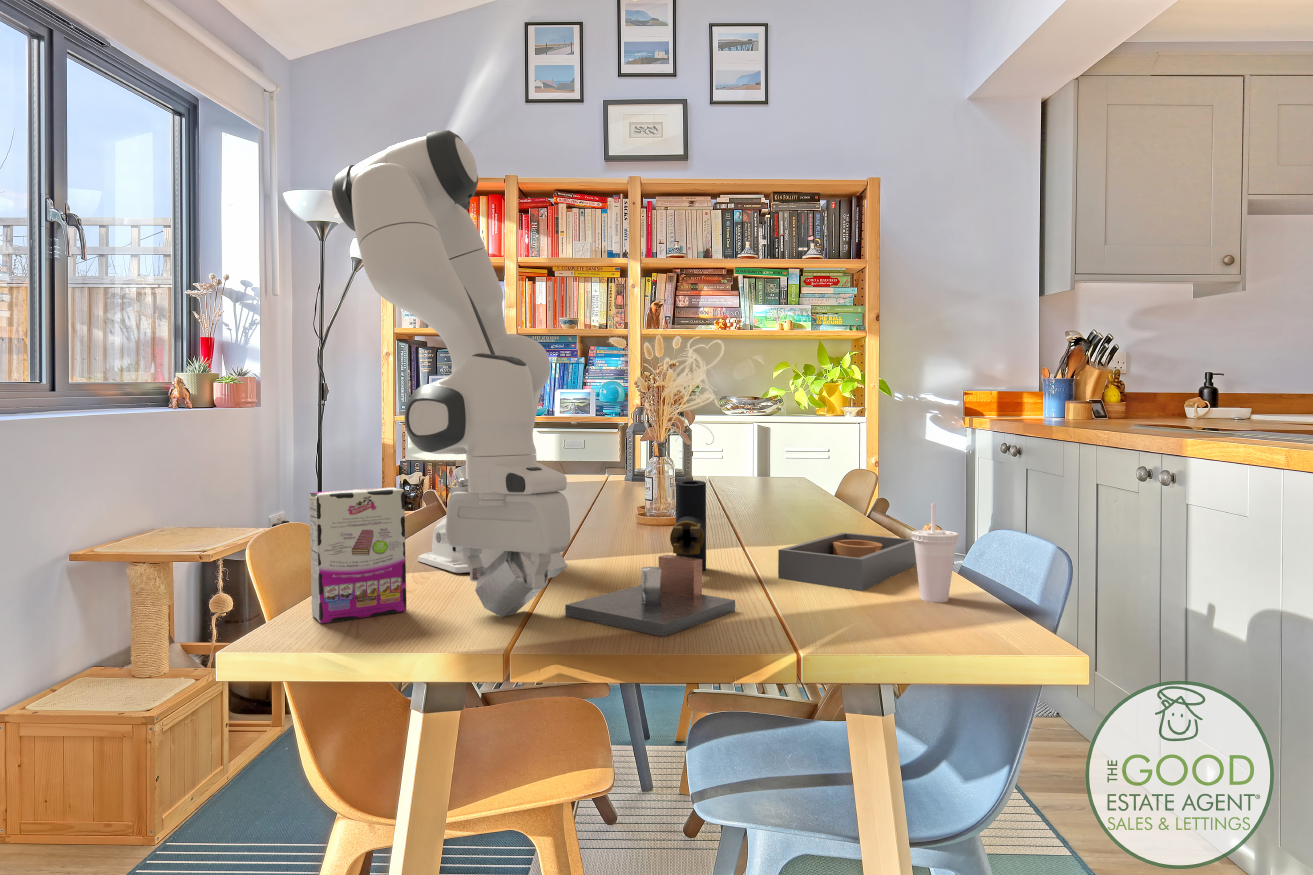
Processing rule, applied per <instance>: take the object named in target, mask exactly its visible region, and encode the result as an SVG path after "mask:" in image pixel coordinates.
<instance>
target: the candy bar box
mask: <svg viewBox="0 0 1313 875" xmlns="http://www.w3.org/2000/svg"><path fill="white" fill-rule="evenodd" d="M308 496H309V497H308V498H309V501H308V502H309V503H308V504H309V532H310V533H309V535H310V538H309V539H310V541H309V542H310V545H309V546H310V576H311V577H310V579H311V582H310V583H311V585H310V586H311V590H310V591H311V615H312V617H313V619H315V620H316V621H317V622H318V623H319V624H329V623H336V622H343V621H351V620H358V619H363V618H370V617H376V616H377V617H378V616H383V615H390V614H398V613H402V612H406V611H407V570H406V568H407V565H406V561H407V560H406V557H407V556H406V518H405V517H406V516H405V513H406V512H405V489H402V488H398V487H396V486H393V487H378V488H361V489H359V488H358V489H344V490H343V489H342V490H331V491H328V490H327V491H317V492H309V495H308Z"/></svg>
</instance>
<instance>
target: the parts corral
mask: <svg viewBox="0 0 1313 875" xmlns="http://www.w3.org/2000/svg"><path fill="white" fill-rule="evenodd" d="M836 540H864V541H872V542H878V543H881V544H882V550H880V551H877V552H874V553H871V554H868V555H865V556H862V557H860V558H856V557H847V556H839V555H833V542H836ZM777 552H778V557H777V558H778V560H777V561H778V566H777V568H778V569H777V574H778V576H777V578H778V580H779V579H780V580H786V581H793V582H800V583H806V584H811V585H818V586H825V587H831V588H837V587H838V588H837V589H843V588H844V589H845V590H849V589H852V590H851V591H857V592H864V591H866V590H868V589H870V588H873V587H874V586H877V585H878V584H881V583H883V582H885V581H887V580H889V579H891V578H893V577H895V576H897V575H899V574H902V573H903V572H905V571H907V570H909V569H911V568H913V567H915V566H914V565H916V564H917V563H916V555H915V546H914V540H913V539H912V538H903V537H893V536H892V537H891V536H883V535H881V536H880V535H874V534H873V535H872V534H861V533H850V532H840V533H836V534H832V535H828V536H825V537H820V538H818V539H814V540H810V541H805V542H802V543H798V544H794V545H791V546H787V547H784V548H780V549H778V551H777ZM916 566H917V565H916ZM906 569H907V570H906ZM898 573H899V574H898ZM894 575H895V576H894ZM892 576H893V577H892ZM890 577H891V578H890ZM844 589H843V590H844Z"/></svg>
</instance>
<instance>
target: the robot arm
mask: <svg viewBox="0 0 1313 875" xmlns="http://www.w3.org/2000/svg"><path fill="white" fill-rule="evenodd" d="M477 168H478V167H477V163H476V160H475V158H474V155H473V153H472V152H471V149H470V148H469V146H468V145H467V144H466V143H465V142H464V141H463V139H462V138H461V136H460V135H458V134H456V133H455V132H453V131H451V130H448V129H444V130H442V129H441V130H437V131H431V132H428V133H427V134H426V135H425V136H419V137H416V138H412V139H407V140H405V141H402V142H398V143H396V144H394V145H390V146H389V147H387V148H386V149H384V150H382V151H380V152H378V153H376V154H374V155H372V156H369V157H367V158H366V159H363V160H362V161H360V162H359V163H357V164H356V165H354V164H351V165H349V166H347V167H346V168H344V169H343V170H342V171H340V172H339V173H337V174H336V176H335V177H334V180H333V183H332V187H331V195H332V201H333V203H334V206H335V208H336V211H337V213H338V215H339V217H340V218H341V219H342V221H343V222H344V224H345V225H346V226H347V227H348V228H349V229H351V231H353V232H355V235H356V240H357V246H358V249H359V252H360V256H361V261H362V265H363V268H364V270H365V273H366V275H367V277H368V280H369V281H370V283H371V285H372V286H373V288H374V290H375V292H377V293H378V295H379V296H381V297H382V298H383V299H384V300H385V301H386V302H388V303H390V304H392V305H394V306H395V307H397V308H399V309H402V310H403V311H405V312H407V313H408V314H411V315H412V316H414V317H416V318H417V319H419V320H421V321H422V322H424V323H425V324H426V325H428V326H429V327H430V328H432V329H433V331H435V332H436V333H437V335H439V337H440V339H442V341H443V343H444V344H445V346H446V349H447V351H448V354H449V357H450V361H451V373H450V374H448V375H446V376H445V377H443V378H441V379H438V380H436V381H434V382H431V383H428V384H424V385H421V386H419V387H418V388H417V389H416V390H414V391H413V393H412V394H411V396H409V398H408V400H407V402H406V406H405V410H404V426H405V430H406V432H407V435H408V438H409V439H410V441H411V443H412V444H413V445H414V446H415V447H416V448H417V449H418V450H419V451H422V452H425V453H430V454H433V455H465V477H459V478H457V479H456V481H455V482H454V483H453V484H452V486H451V487H450V491H449V492H450V493H449V494H450V495H449V497H448V501H447V506H446V513H445V514H446V517H445V518H443V519H442V520H441V521H440V522H439V523H438V524H436V526H435V527H434V529H433V534H432V546H431V548H432V549H431V550H432V551H428V552H425V553H422V554H420V555H418V557H417V562H420V563H423V564H426V565H430V566H432V567H437V568H439V569H442V570H446V571H449V572H452V573H457V574H459V573H461V574H463V573H469V579H470V581H471V582H473V583H477V581H478V577H479V575H480V574H481V573H482V572H483V571H484V570H485V569H486V568H487V567H488V566H489V565H490V564H492V563H493V562H494V561H495V560H496V559H497V558H498V557H499V556H500V555H501V554H502V553H503V552H504V551H512V552H524V553H531V561H532V562H535V563H534V566H533V569H532V572H531V574H528V575H526V580H527V588H530V589H541V588H543V587H544V585H545V577H544V574H545V573H546V570H547V568H548V566H549V564H550V561H551V554H555V553H560V554H561V553H564V552H565V551H566V550H567V548H568V547H569V545H570V543H571V520H570V508H569V503H568V500H567V497H566V496H565V495H564V494H563V493H562V492H563V491H565V490H566V489H567V486H568V484H567V483H568V481H567V476H566V475H565V474H564V473H563V472H560V471H557V470H555V469H553V468H550V467H549V466H546V465H544V464H543V463H541V462H538V460H537V449H536V446H535V443H534V437H533V436H534V434H533V432H534V427H535V423H536V417H537V412H538V407H539V403H540V397H541V394H542V391H543V389H544V386H546V384H547V382H548V380H549V377H550V374H551V361H550V357H549V354H548V352H547V351H546V349H545V348H544V346H543V345H542V344H541V343H539V342H538V341H537V340H535V339H533V338H531V337H528V336H525V335H521V334H518V333H508V332H507V328H506V323H505V318H504V311H503V301H504V292H503V289H502V286H501V284H500V282H499V278H498V276H497V273H496V271H495V269H494V266H493V264H492V261H491V258H490V256H489V254H488V251H487V248H486V246H485V243H484V241H483V239H482V237H481V234H480V232H479V230H478V228H477V226H476V224H475V222H474V220H473V219H472V217H471V215H470V213H469V212H468V209H469V208H470V207H471V199H472V198H473V197H474V196H475V195H476V191H477V189H478V188H477V187H478V183H479V176H478V169H477ZM544 588H545V587H544ZM544 588H543V589H544Z"/></svg>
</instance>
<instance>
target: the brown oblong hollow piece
mask: <svg viewBox="0 0 1313 875" xmlns="http://www.w3.org/2000/svg"><path fill="white" fill-rule="evenodd" d="M880 550H882V544H881V543H878V542H872V541H864V540H836V542H833V555H839V556H847V557H856V558H860V557H862V556H865V555H868V554H871V553H874V552H877V551H880Z"/></svg>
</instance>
